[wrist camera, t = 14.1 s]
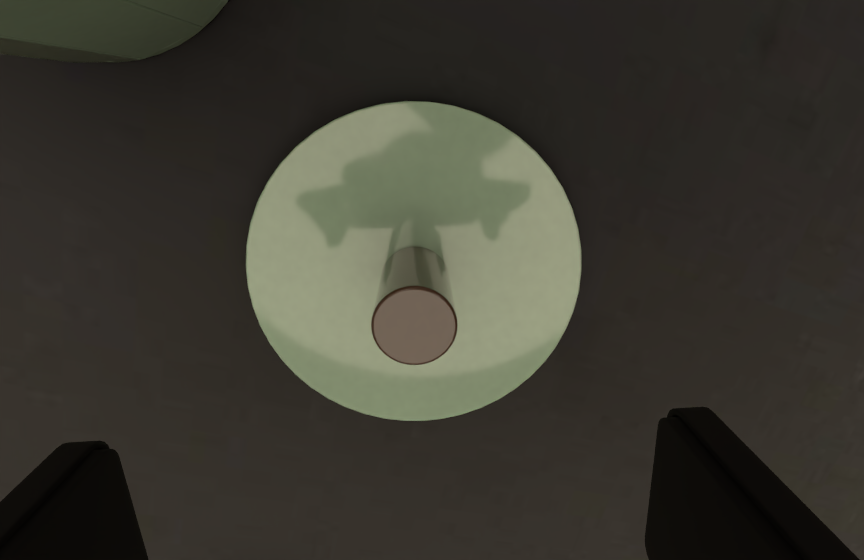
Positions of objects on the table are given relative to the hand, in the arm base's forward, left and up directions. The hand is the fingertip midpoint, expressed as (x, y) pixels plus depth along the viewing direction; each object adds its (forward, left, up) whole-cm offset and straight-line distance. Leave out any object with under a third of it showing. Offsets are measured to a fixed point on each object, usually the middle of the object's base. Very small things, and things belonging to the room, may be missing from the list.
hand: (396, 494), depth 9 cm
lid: (0, 0, -12) cm, 12 cm away
